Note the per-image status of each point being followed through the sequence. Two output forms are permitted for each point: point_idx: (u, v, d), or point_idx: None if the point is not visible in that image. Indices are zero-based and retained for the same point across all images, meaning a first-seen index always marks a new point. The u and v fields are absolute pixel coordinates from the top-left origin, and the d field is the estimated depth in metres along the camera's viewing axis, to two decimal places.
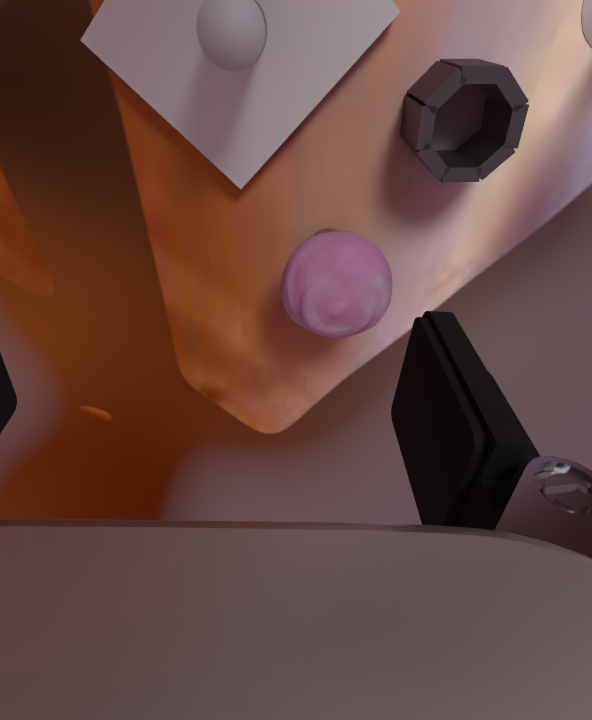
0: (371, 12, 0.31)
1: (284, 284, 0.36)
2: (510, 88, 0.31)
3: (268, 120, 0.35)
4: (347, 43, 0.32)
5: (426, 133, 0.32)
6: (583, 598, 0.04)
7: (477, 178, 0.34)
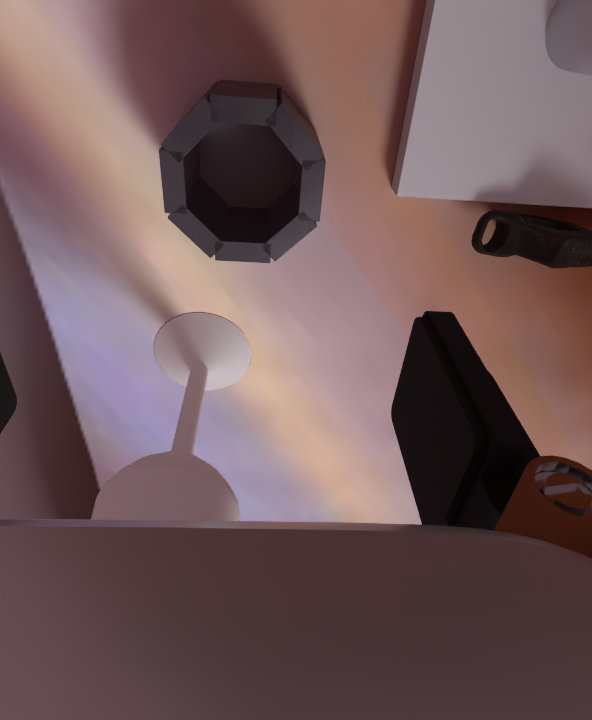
0: (427, 171, 0.24)
1: None
2: (246, 252, 0.23)
3: None
4: (435, 123, 0.23)
5: (289, 133, 0.20)
6: (583, 598, 0.04)
7: (166, 146, 0.20)
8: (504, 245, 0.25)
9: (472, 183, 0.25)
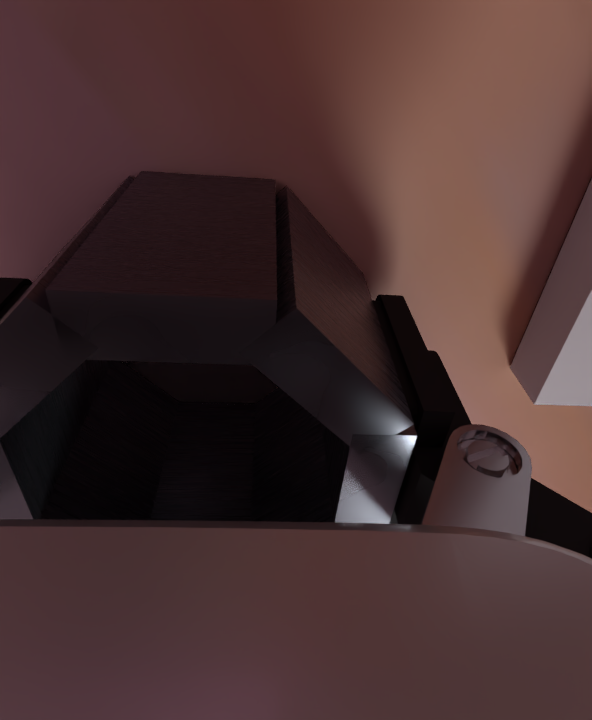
0: None
1: None
2: None
3: None
4: None
5: (314, 379, 0.06)
6: (583, 598, 0.04)
7: None
8: None
9: None
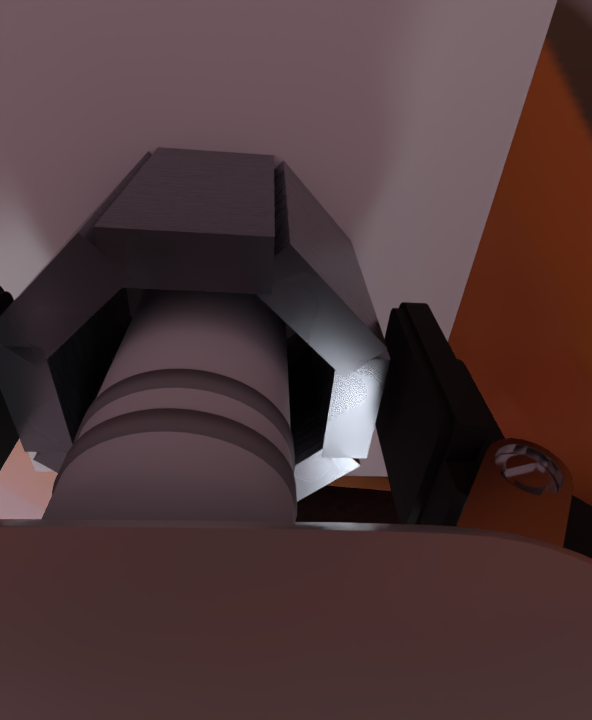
0: None
1: None
2: None
3: None
4: None
5: (305, 307, 0.08)
6: (583, 598, 0.04)
7: (1, 336, 0.08)
8: None
9: None
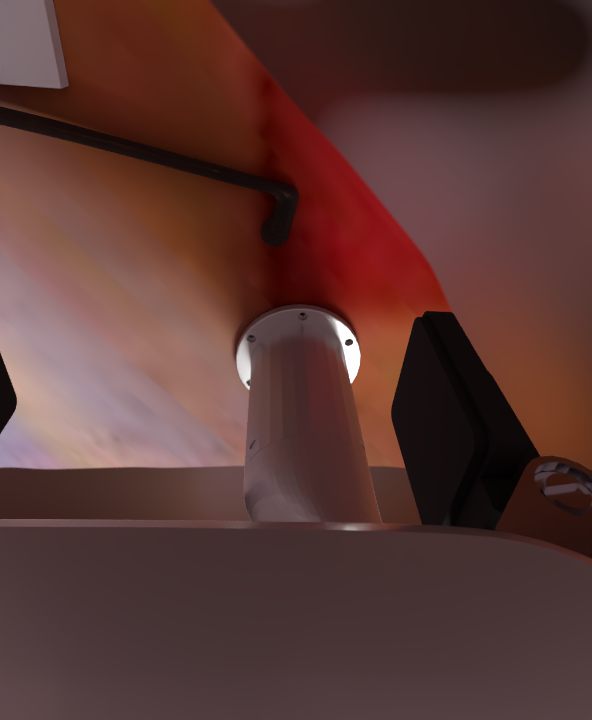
0: None
1: None
2: None
3: None
4: None
5: None
6: (583, 598, 0.04)
7: None
8: None
9: None
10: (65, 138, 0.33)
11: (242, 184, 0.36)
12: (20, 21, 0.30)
